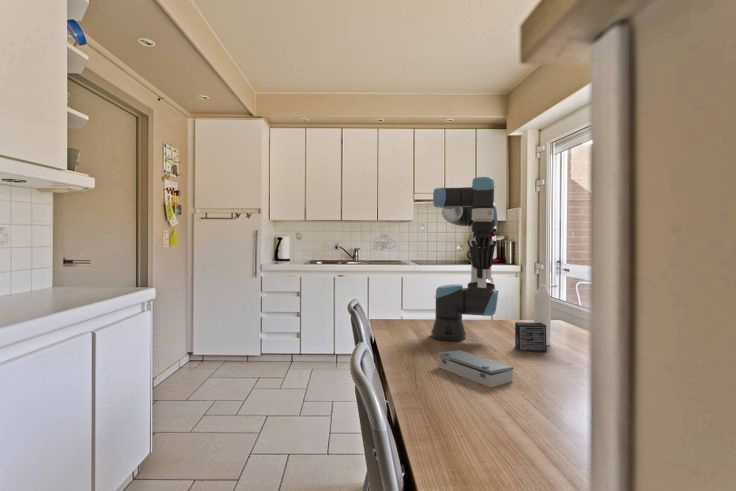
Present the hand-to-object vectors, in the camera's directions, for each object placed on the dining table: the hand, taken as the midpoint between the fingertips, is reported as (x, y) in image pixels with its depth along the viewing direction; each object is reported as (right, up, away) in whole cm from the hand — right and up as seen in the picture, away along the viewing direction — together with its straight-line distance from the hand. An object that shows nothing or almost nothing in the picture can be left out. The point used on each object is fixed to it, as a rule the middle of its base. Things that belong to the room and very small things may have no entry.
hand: (481, 287), depth 143 cm
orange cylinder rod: (-10, -27, -10) cm, 30 cm away
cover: (-6, -23, -14) cm, 27 cm away
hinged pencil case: (-7, -27, -14) cm, 31 cm away
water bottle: (+34, -27, +25) cm, 50 cm away
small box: (+24, -27, +16) cm, 39 cm away
